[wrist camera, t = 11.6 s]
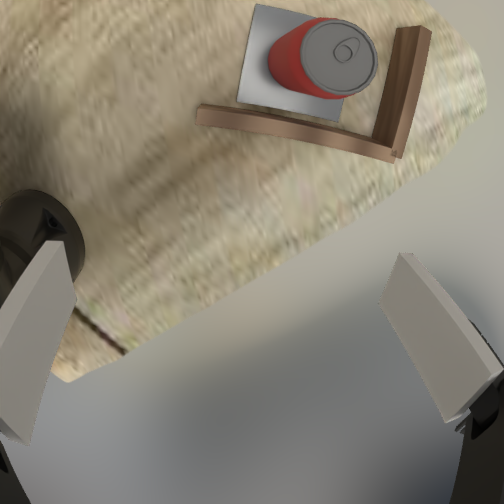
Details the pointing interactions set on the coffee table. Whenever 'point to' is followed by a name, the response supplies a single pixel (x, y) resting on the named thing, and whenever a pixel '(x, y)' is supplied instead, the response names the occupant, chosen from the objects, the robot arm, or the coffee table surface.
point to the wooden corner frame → (379, 146)
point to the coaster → (260, 78)
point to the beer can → (324, 59)
